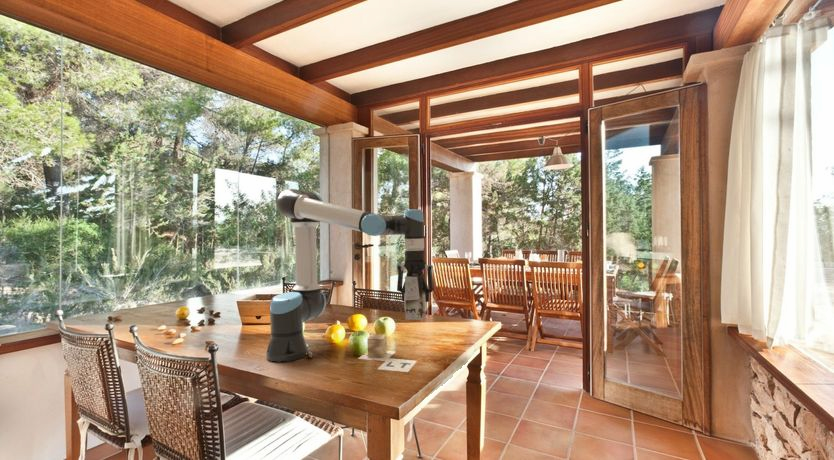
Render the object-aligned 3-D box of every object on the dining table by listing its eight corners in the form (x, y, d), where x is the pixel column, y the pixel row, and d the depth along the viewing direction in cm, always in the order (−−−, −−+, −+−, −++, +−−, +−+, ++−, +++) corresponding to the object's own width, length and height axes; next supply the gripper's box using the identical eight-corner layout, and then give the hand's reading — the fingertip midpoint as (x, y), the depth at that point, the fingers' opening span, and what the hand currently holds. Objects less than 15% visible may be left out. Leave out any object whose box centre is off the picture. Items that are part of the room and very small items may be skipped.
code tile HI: (357, 359, 137) (357, 358, 137) (369, 349, 147) (369, 349, 147) (385, 361, 134) (385, 360, 134) (396, 351, 144) (395, 351, 144)
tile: (377, 369, 126) (377, 368, 126) (388, 358, 137) (388, 358, 137) (407, 372, 123) (407, 371, 123) (417, 361, 134) (417, 360, 134)
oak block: (367, 357, 138) (367, 338, 138) (371, 352, 144) (371, 334, 144) (383, 357, 137) (383, 338, 137) (386, 352, 143) (386, 334, 143)
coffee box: (422, 320, 136) (421, 276, 136) (405, 319, 138) (404, 276, 138) (426, 314, 145) (425, 273, 145) (410, 314, 147) (409, 273, 147)
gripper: (386, 250, 141) (388, 311, 141) (437, 250, 135) (438, 313, 135) (393, 249, 148) (395, 307, 148) (441, 249, 142) (443, 309, 142)
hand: (415, 309), depth 142 cm, fingers closed on coffee box, 7 cm apart
